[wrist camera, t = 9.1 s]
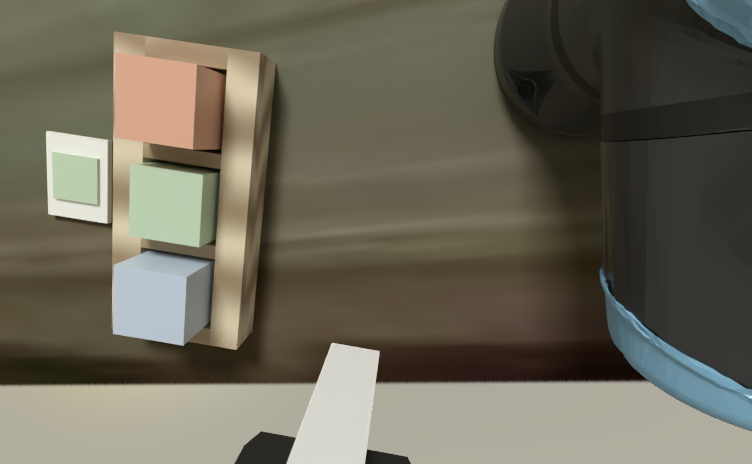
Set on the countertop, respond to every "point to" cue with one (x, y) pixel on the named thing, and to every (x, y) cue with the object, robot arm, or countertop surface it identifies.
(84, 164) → the card
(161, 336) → the slate key
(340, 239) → the countertop surface
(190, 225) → the sage key
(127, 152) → the key panel
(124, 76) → the terracotta key
